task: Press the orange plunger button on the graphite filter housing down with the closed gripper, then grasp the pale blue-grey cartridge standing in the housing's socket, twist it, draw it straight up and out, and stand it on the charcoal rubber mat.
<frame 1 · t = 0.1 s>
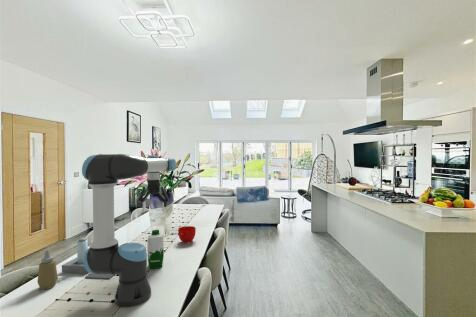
hand: (154, 211, 164), 28 cm above the table, fingers open, 13 cm apart
squeeze bottle: (47, 287, 124), on the table
ceramic cup: (185, 242, 187), on the table
milk carton: (155, 266, 147), on the table
housing: (90, 264, 151), on the table
mat: (105, 272, 139), on the table
cartridge: (82, 268, 145), resting in housing
plunger: (98, 248, 158), point 7 cm above the table, slide at 0.0 cm
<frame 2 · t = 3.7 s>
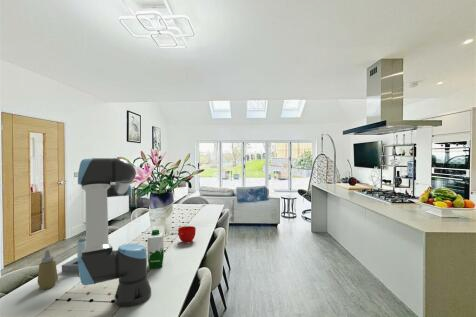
hand: (97, 242, 158), 10 cm above the table, fingers closed
plunger: (98, 249, 158), point 6 cm above the table, slide at 0.6 cm, touching gripper
everything else where it was.
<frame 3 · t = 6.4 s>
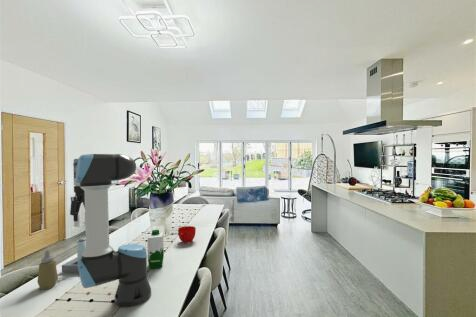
hand: (82, 224, 145), 25 cm above the table, fingers open, 7 cm apart
plunger: (98, 252, 158), point 5 cm above the table, slide at 2.5 cm
everything else where it was.
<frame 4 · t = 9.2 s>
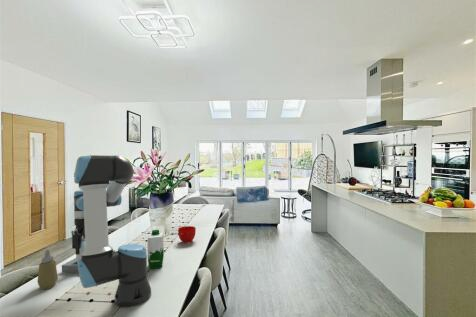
hand: (82, 257, 145), 6 cm above the table, fingers closed on cartridge, 5 cm apart
cartridge: (82, 268, 145), resting in housing, touching gripper
everything else where it was.
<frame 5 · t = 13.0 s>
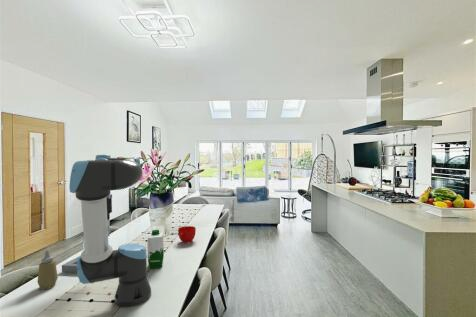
hand: (104, 224, 139), 27 cm above the table, fingers closed on cartridge, 5 cm apart
cartridge: (104, 236, 139), point 20 cm above the table, touching gripper
everything else where it was.
when the fingers open (8 cm above the table, at t = 16.8 s): cartridge drops 1 cm, resting on mat.
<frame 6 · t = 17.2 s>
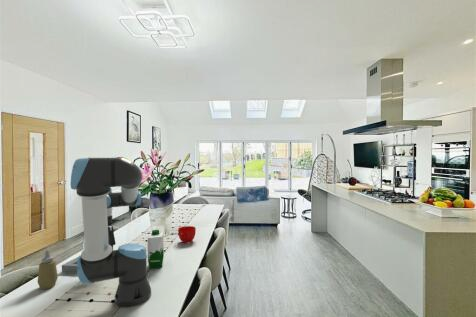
hand: (105, 255, 139), 10 cm above the table, fingers open, 11 cm apart
cartridge: (105, 271, 139), point 1 cm above the table, touching mat
everything else where it was.
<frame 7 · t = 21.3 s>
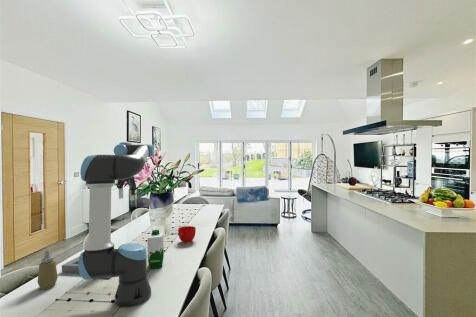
hand: (126, 199, 162), 37 cm above the table, fingers open, 13 cm apart
nothing on the table moved.
at the end: plunger slide at 2.5 cm; cartridge inside the target area on the mat (0.1 cm from its centre), point 0.7 cm above the mat's base; cartridge tilted 2° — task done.
